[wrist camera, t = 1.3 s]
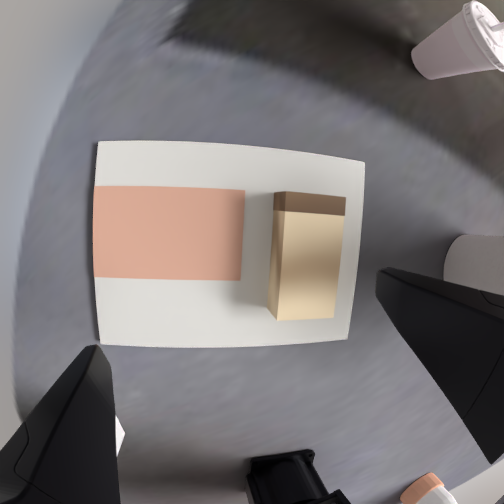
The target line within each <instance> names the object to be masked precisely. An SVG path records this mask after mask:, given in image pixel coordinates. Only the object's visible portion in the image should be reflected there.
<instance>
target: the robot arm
mask: <svg viewBox="0 0 504 504" xmlns="http://www.w3.org/2000/svg"><path fill="white" fill-rule="evenodd" d="M375 293H376V297H377V299H378V300H379V302H380V304H381V305H382V307H383V308H384V310H385V311H386V313H387V315H388V316H389V318H390V319H391V321H392V323H393V324H394V326H395V327H396V329H397V330H398V332H399V333H400V335H401V336H402V337H403V339H404V340H405V341H406V342H407V344H408V345H409V346H410V348H411V349H412V350H413V352H414V353H415V354H416V356H417V357H418V358H419V360H420V361H421V362H422V364H423V365H424V366H425V368H426V369H427V371H428V372H429V373H430V375H431V376H432V377H433V379H434V380H435V382H436V383H437V384H438V386H439V387H440V389H441V390H442V391H443V393H444V394H445V396H446V397H447V399H448V400H449V402H450V403H451V404H452V406H453V407H454V409H455V410H456V412H457V413H458V415H459V416H460V418H461V419H462V420H463V422H464V424H465V425H466V427H467V428H468V430H469V432H470V433H471V435H472V436H473V438H474V439H475V441H476V442H477V444H478V446H479V447H480V449H481V450H482V452H483V454H484V455H485V457H486V458H487V460H488V462H489V463H490V464H491V465H492V464H493V463H494V462H495V461H496V460H497V459H498V458H499V457H500V456H501V455H502V454H503V453H504V295H499V294H495V293H491V292H487V291H483V290H478V289H475V288H471V287H467V286H463V285H460V284H456V283H452V282H448V281H444V280H440V279H436V278H432V277H428V276H424V275H420V274H415V273H411V272H407V271H403V270H399V269H395V268H391V267H387V268H384V269H381V270H379V271H378V272H377V278H376V289H375ZM314 456H315V453H314V451H313V450H306V451H301V452H295V453H289V454H283V455H276V456H269V457H261V458H254V459H252V460H251V461H250V470H249V474H247V475H246V480H245V491H246V494H247V498H248V501H249V504H351V503H350V502H349V501H348V499H347V498H346V497H345V496H344V494H343V493H342V492H341V490H340V489H338V490H336V491H334V492H333V493H331V494H329V493H328V491H327V489H326V488H325V486H324V484H323V482H322V480H321V479H320V477H319V475H318V473H317V471H316V470H315V468H314V466H313V464H312V463H313V459H314ZM0 504H121V503H120V493H119V483H118V470H117V453H116V416H115V403H114V394H113V383H112V371H111V366H110V364H109V362H108V360H107V358H106V357H105V355H104V353H103V351H102V349H101V348H100V346H99V345H97V344H95V345H90V346H86V347H85V348H84V349H83V350H82V351H81V352H80V353H79V355H78V356H77V357H76V358H75V359H74V360H73V362H72V363H71V364H70V365H69V366H68V368H67V369H66V370H65V371H64V372H63V373H62V375H61V376H60V377H59V378H58V379H57V381H56V382H55V383H54V384H53V386H52V387H51V388H50V389H49V390H48V392H47V393H46V394H45V395H44V397H43V398H42V399H41V400H40V402H39V403H38V404H37V405H36V407H35V408H34V409H33V410H32V412H31V413H30V414H29V415H28V417H27V418H26V419H25V421H24V422H23V423H22V424H21V426H20V427H19V428H18V430H17V431H16V432H15V434H14V435H13V436H12V437H11V439H10V440H9V441H8V442H7V443H6V445H5V446H4V447H3V448H2V450H1V451H0ZM495 504H504V495H503V496H502V498H500V499H499V500H498V501H497V502H496V503H495Z"/></svg>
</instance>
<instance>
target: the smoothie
mask: <svg viewBox="0 0 504 504" xmlns="http://www.w3.org/2000/svg"><path fill="white" fill-rule="evenodd" d="M411 57H412V61H413V63H414V65H415V67H416V69H417V70H418V71H419V72H420V73H421V74H422V75H423V76H424V77H425V78H427V79H430V80H433V79H438V78H443V77H448V76H453V75H459V74H465V73H471V72H478V71H486V70H492V69H498V70H500V71H503V72H504V22H502V23H500V22H499V21H498V20H497V18H496V17H495V16H494V15H493V14H492V13H491V11H490V10H489V9H487V8H486V7H485V6H484V5H483V4H481V3H479V2H477V1H471V2H469V3H465V4H464V5H463V10H462V11H461V12H459V13H458V14H457V15H455V16H454V17H453V18H451V19H450V20H449V21H448V22H446V23H445V24H444V25H442V26H441V27H440V28H438V29H437V30H436V31H435V32H433V33H432V34H431V35H430V36H428V37H427V38H426V39H424V40H423V41H422V42H421V43H419V44H418V45H417V46H416V47H415V48H413V49H412V52H411Z"/></svg>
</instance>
